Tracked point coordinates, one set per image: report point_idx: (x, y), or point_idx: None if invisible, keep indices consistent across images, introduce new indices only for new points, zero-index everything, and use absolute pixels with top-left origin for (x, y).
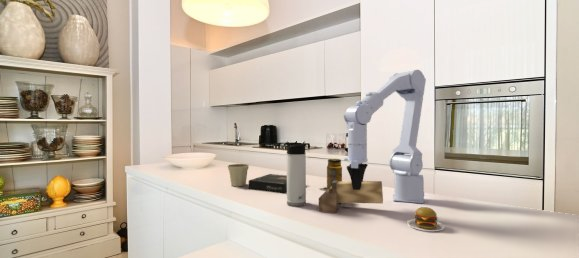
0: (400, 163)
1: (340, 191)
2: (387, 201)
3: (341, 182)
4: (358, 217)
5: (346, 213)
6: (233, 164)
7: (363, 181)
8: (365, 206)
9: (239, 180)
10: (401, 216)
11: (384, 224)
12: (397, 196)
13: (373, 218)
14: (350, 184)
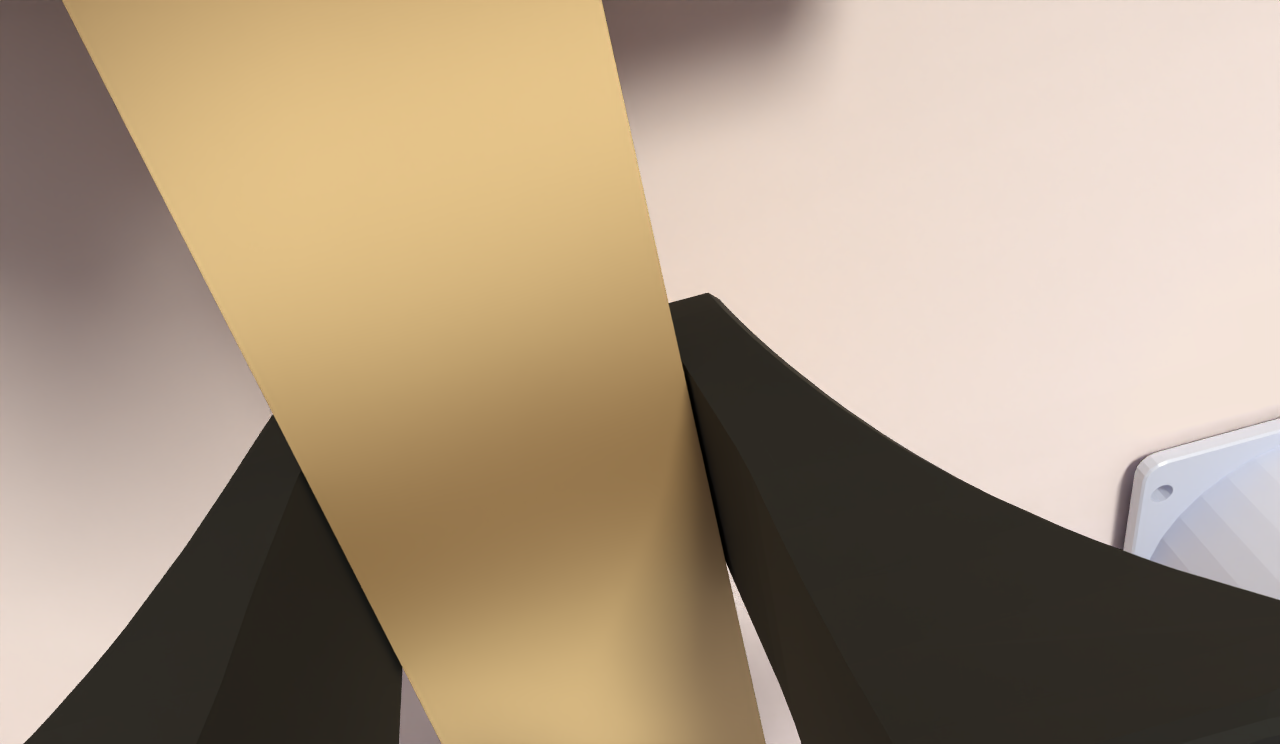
0: None
1: None
2: (1118, 393)
3: (349, 21)
4: (3, 374)
5: (32, 125)
6: None
7: (713, 610)
8: (695, 236)
9: None
10: None
11: (24, 685)
12: (1225, 518)
13: (147, 533)
14: (280, 409)
